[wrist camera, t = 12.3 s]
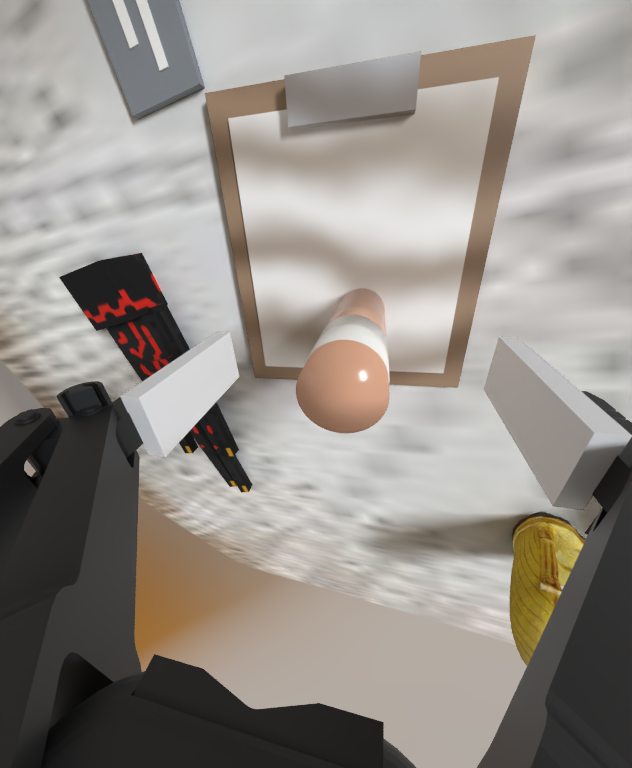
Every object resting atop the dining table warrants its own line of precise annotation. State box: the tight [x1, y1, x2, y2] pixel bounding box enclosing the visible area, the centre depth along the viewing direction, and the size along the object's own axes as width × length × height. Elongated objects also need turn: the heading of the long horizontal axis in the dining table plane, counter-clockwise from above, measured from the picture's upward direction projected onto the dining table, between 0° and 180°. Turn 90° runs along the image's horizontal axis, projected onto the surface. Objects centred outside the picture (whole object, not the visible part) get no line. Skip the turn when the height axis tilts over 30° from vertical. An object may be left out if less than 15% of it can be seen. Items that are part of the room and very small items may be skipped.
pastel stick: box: [296, 288, 390, 433], centre depth 18 cm, size 4×4×14 cm
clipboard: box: [205, 35, 536, 388], centre depth 22 cm, size 22×20×2 cm
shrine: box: [510, 513, 586, 666], centre depth 27 cm, size 12×8×15 cm
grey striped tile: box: [87, 0, 205, 119], centre depth 18 cm, size 8×6×1 cm
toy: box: [59, 253, 252, 492], centre depth 32 cm, size 8×5×30 cm
